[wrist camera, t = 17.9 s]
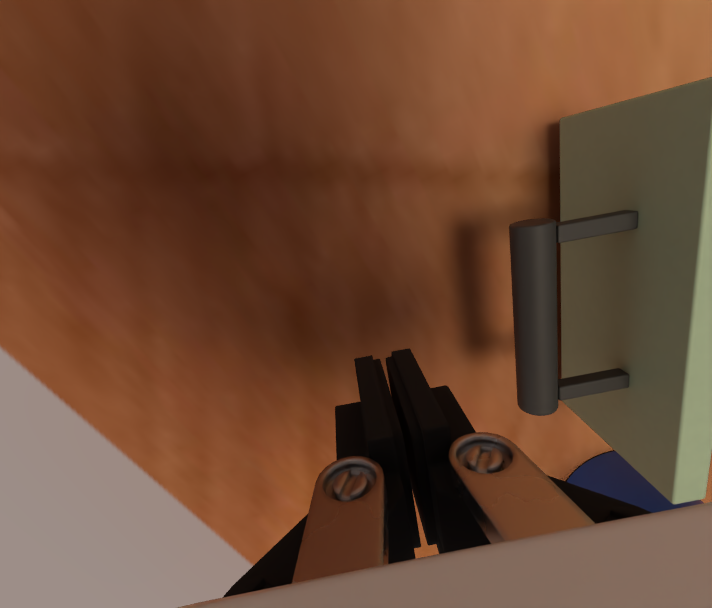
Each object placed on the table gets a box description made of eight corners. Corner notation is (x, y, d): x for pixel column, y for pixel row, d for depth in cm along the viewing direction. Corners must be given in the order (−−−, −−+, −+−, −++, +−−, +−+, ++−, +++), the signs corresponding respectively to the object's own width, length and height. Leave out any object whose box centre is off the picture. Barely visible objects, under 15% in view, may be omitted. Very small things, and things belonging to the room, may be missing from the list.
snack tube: (558, 545, 24) (734, 822, 14) (557, 460, 22) (761, 709, 12) (659, 525, 24) (910, 785, 14) (667, 439, 22) (967, 666, 12)
